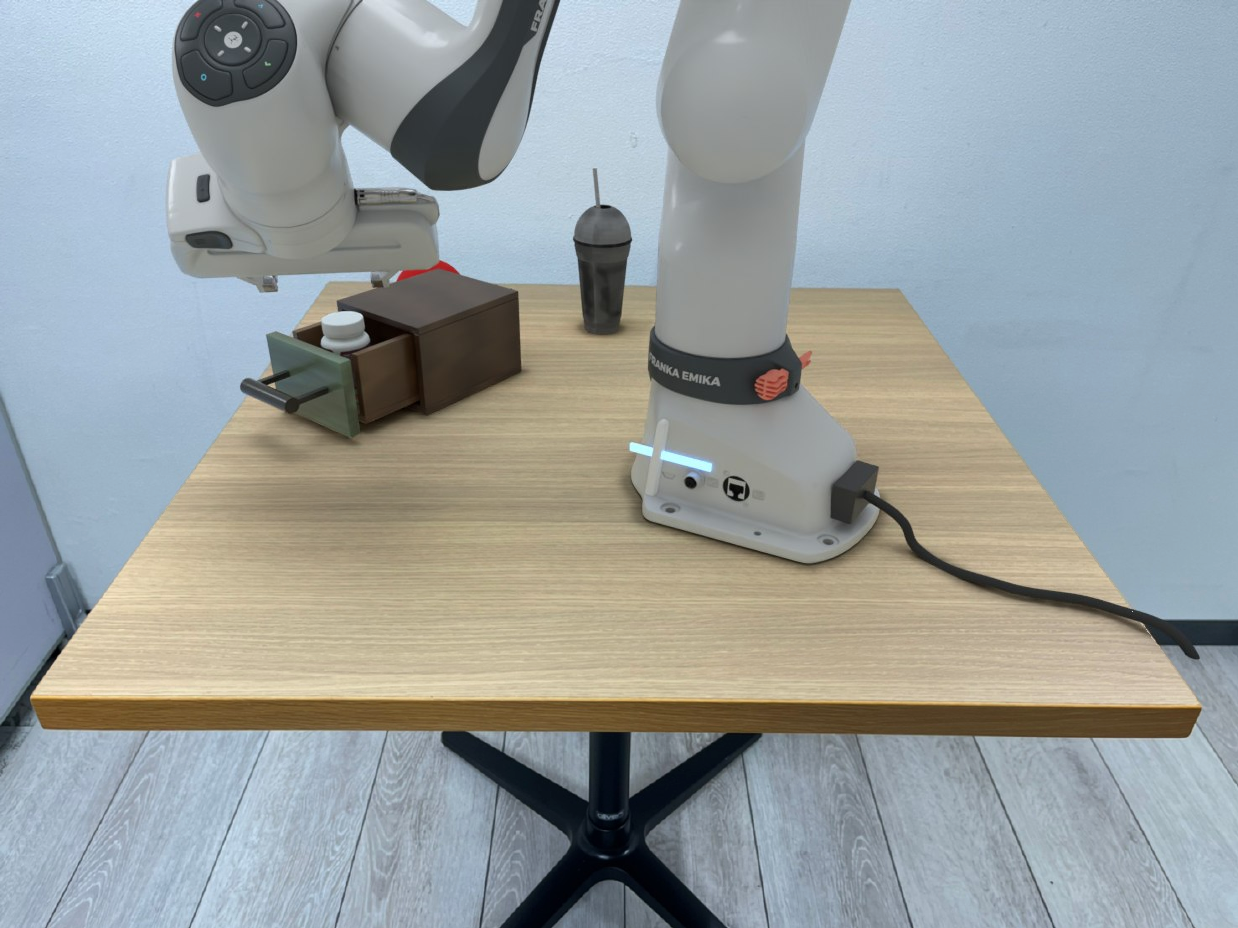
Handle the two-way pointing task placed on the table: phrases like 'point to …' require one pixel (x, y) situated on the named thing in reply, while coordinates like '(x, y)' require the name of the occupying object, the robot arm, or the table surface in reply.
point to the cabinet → (449, 331)
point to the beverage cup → (602, 264)
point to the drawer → (339, 377)
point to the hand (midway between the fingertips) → (325, 282)
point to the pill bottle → (345, 336)
